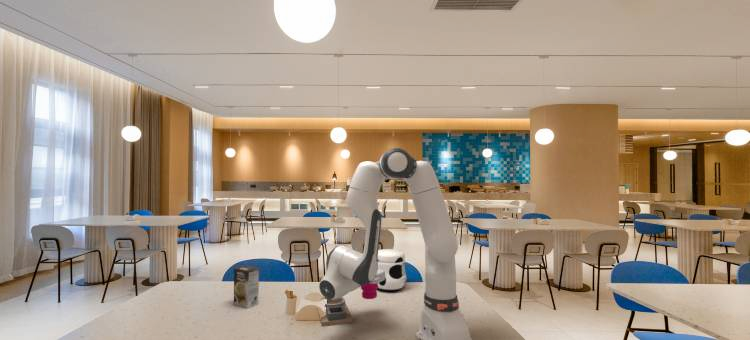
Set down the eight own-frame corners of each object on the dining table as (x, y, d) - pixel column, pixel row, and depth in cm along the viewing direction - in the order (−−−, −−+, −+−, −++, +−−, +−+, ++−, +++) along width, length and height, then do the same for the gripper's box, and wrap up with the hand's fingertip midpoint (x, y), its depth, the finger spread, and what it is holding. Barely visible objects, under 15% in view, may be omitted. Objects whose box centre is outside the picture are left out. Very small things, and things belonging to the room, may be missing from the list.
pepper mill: (376, 300, 135) (375, 250, 135) (359, 299, 136) (358, 250, 136) (379, 293, 142) (378, 246, 142) (362, 293, 143) (362, 246, 143)
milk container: (368, 283, 176) (368, 249, 176) (399, 280, 181) (399, 247, 181) (378, 295, 159) (378, 257, 160) (411, 291, 164) (412, 255, 165)
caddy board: (352, 322, 130) (352, 312, 130) (321, 326, 127) (322, 315, 127) (343, 303, 149) (343, 294, 149) (316, 306, 146) (316, 296, 146)
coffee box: (232, 304, 147) (233, 268, 147) (244, 300, 153) (245, 264, 153) (247, 308, 143) (247, 271, 143) (259, 303, 148) (259, 267, 149)
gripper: (375, 273, 123) (392, 264, 135) (330, 266, 133) (349, 258, 145) (375, 290, 123) (392, 279, 135) (330, 282, 133) (350, 273, 145)
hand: (370, 268), depth 140 cm, fingers closed on pepper mill, 5 cm apart
